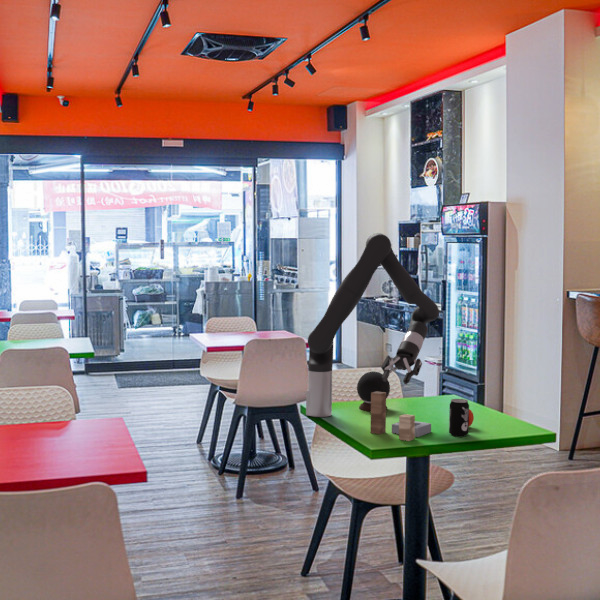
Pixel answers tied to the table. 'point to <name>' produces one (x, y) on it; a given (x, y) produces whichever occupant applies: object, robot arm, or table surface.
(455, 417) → the beverage can
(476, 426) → the table surface
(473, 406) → the table surface
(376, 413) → the walnut peg
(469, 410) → the apple
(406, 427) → the birch peg
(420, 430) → the socket block
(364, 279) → the robot arm
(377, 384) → the dark ball
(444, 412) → the table surface
